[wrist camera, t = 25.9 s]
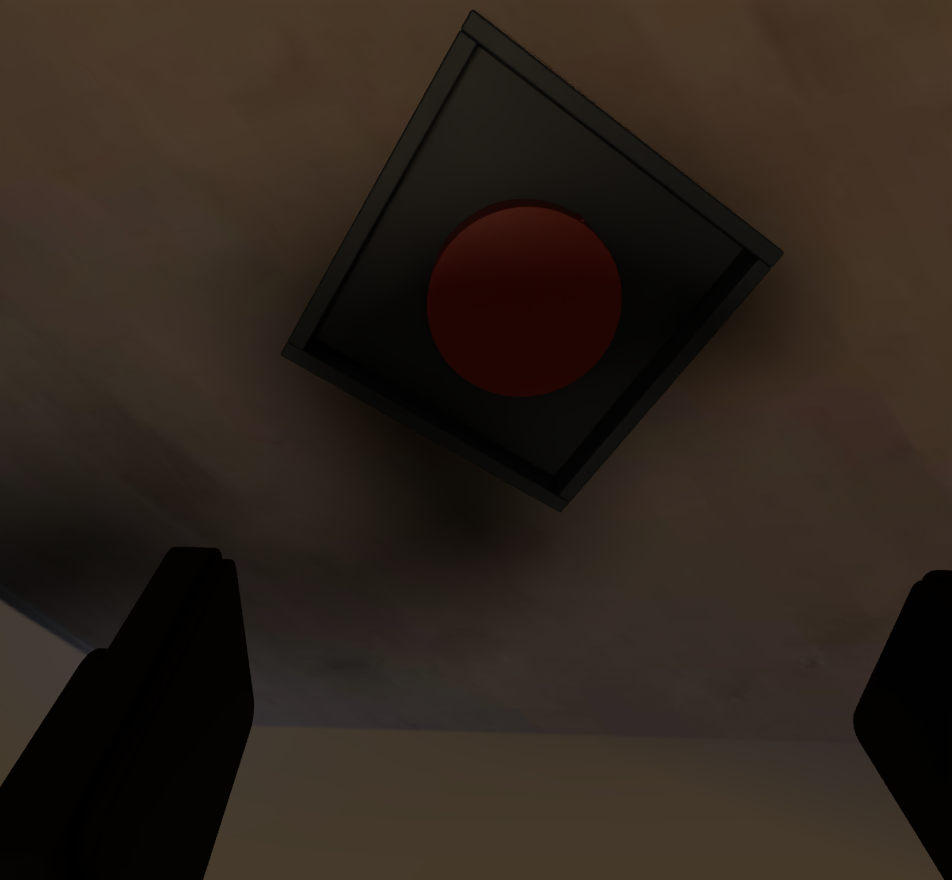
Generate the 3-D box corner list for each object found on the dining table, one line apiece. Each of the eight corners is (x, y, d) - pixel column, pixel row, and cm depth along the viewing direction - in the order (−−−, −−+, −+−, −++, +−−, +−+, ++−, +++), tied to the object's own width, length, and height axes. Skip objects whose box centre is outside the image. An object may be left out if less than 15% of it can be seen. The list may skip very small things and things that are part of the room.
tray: (555, 486, 28) (560, 513, 27) (292, 335, 25) (279, 355, 23) (761, 240, 24) (785, 253, 22) (471, 14, 20) (472, 8, 19)
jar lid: (497, 155, 22) (499, 160, 20) (652, 265, 24) (664, 278, 22) (395, 320, 24) (390, 335, 23) (541, 409, 26) (545, 428, 25)
